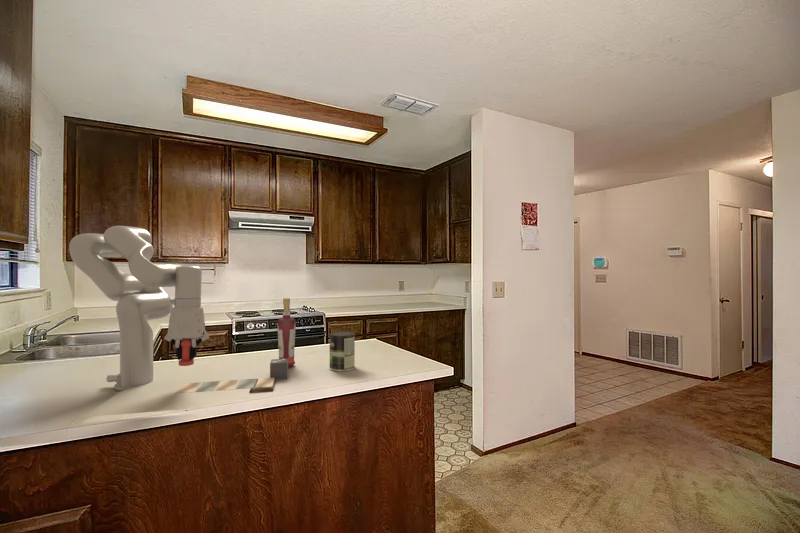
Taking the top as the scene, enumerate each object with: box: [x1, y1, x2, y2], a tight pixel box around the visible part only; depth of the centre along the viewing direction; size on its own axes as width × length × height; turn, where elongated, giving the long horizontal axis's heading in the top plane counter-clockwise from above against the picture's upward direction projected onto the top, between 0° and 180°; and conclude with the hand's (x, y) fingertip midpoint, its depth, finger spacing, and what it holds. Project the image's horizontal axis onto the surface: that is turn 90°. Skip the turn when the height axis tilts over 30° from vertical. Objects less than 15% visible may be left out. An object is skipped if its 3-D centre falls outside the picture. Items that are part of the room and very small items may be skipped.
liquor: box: [277, 297, 297, 369], centre depth 158 cm, size 7×7×28 cm
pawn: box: [178, 339, 195, 367], centre depth 127 cm, size 4×4×9 cm
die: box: [269, 358, 289, 380], centre depth 143 cm, size 6×6×6 cm
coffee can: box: [328, 330, 356, 372], centre depth 156 cm, size 10×10×14 cm
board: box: [173, 377, 276, 395], centre depth 129 cm, size 30×12×1 cm, turn 104°
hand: (186, 358), depth 127 cm, fingers closed on pawn, 3 cm apart
